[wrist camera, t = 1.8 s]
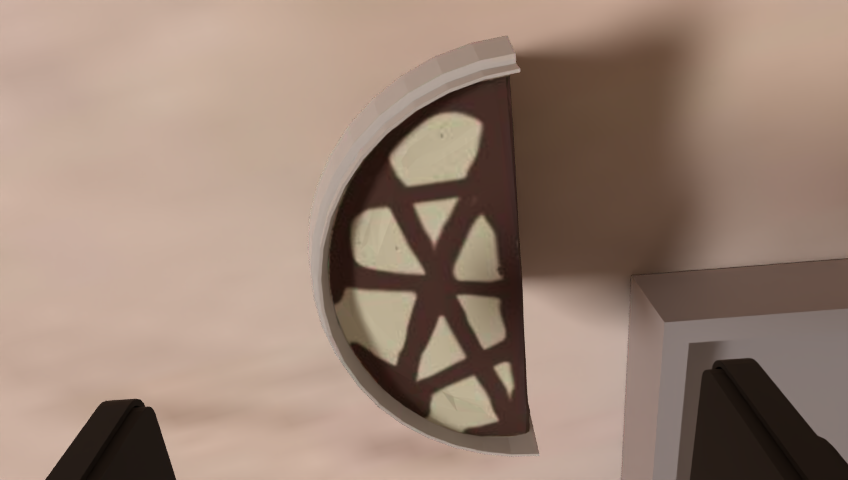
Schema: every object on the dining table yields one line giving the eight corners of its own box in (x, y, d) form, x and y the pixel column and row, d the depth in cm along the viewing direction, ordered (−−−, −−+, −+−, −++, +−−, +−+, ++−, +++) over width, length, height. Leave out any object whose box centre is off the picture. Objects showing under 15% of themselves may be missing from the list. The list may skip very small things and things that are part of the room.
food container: (313, 34, 24) (248, 75, 14) (479, 14, 23) (519, 44, 14) (362, 320, 28) (336, 488, 19) (500, 307, 28) (540, 470, 19)
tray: (951, 548, 34) (1015, 618, 31) (616, 571, 35) (640, 642, 31) (1052, 242, 27) (1151, 285, 24) (631, 275, 28) (664, 322, 24)
